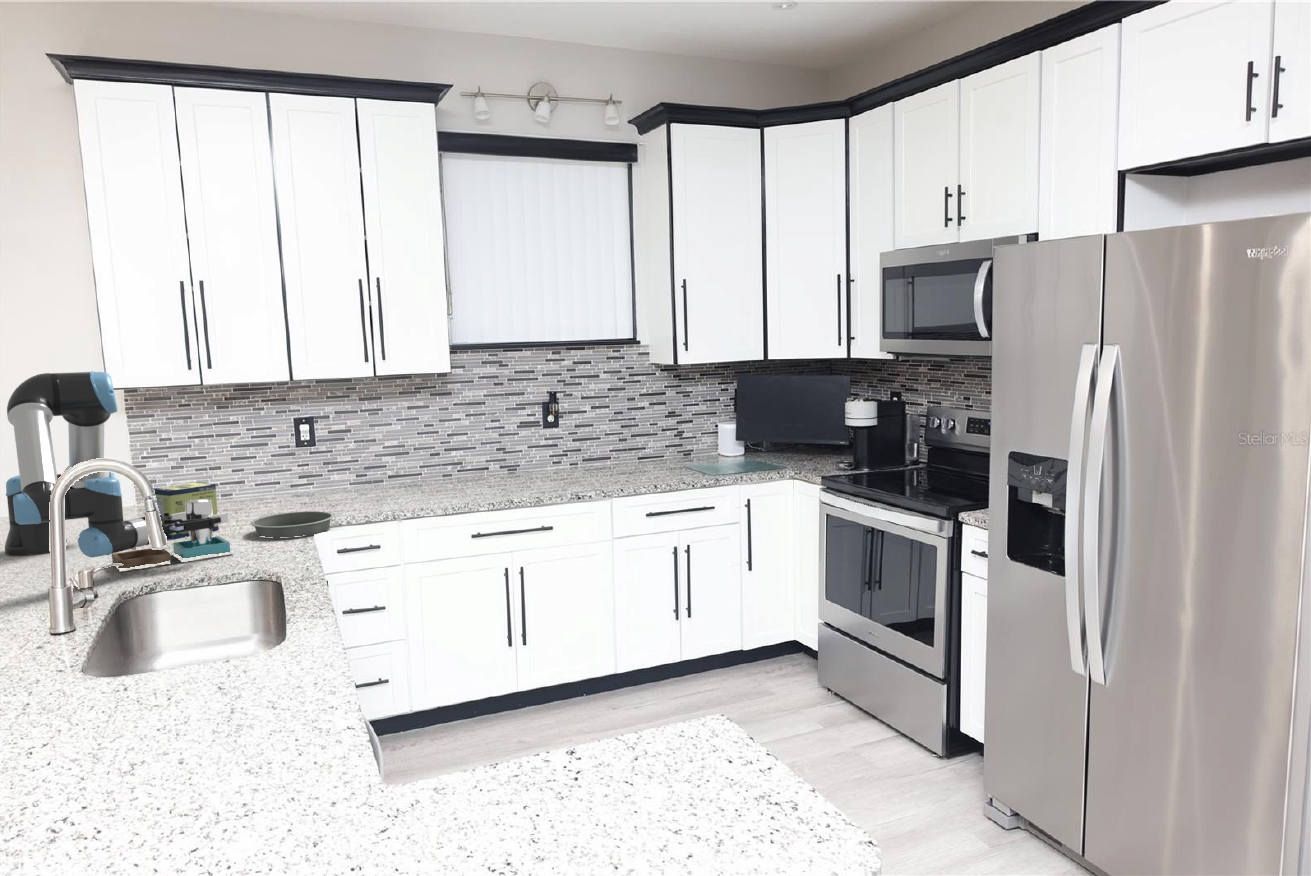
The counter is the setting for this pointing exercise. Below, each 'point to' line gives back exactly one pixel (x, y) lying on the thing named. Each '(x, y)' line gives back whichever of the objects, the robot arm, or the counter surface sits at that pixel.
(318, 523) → the cake pan
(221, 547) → the teal shallow tray
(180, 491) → the protein box
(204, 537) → the beer glass
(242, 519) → the counter surface
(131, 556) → the brown square tray
